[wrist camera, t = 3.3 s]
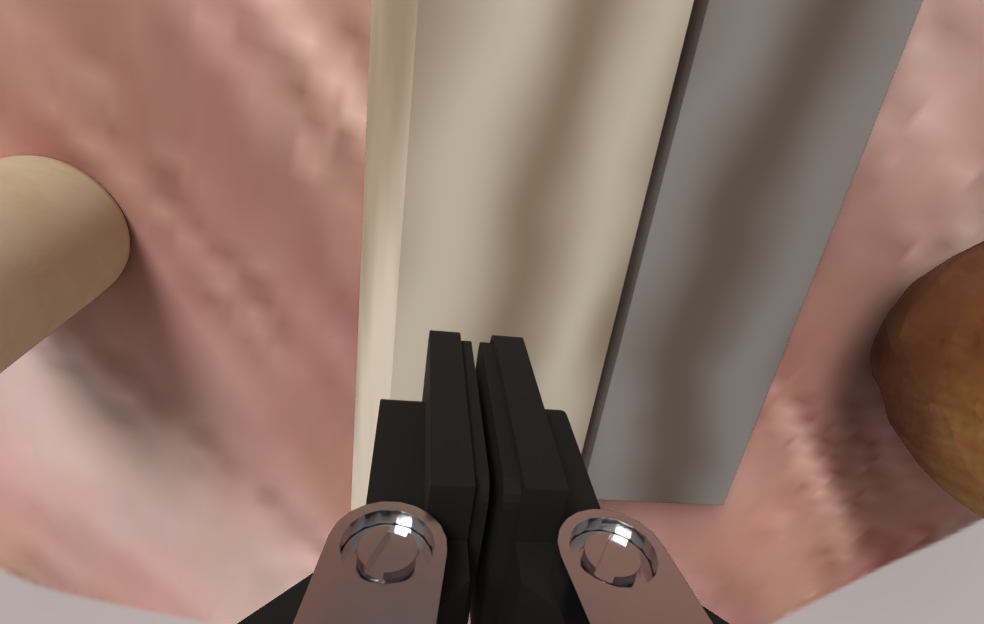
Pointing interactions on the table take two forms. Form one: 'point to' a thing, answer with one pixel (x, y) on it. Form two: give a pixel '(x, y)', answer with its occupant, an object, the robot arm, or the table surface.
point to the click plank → (505, 186)
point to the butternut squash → (939, 374)
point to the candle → (52, 248)
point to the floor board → (734, 233)
